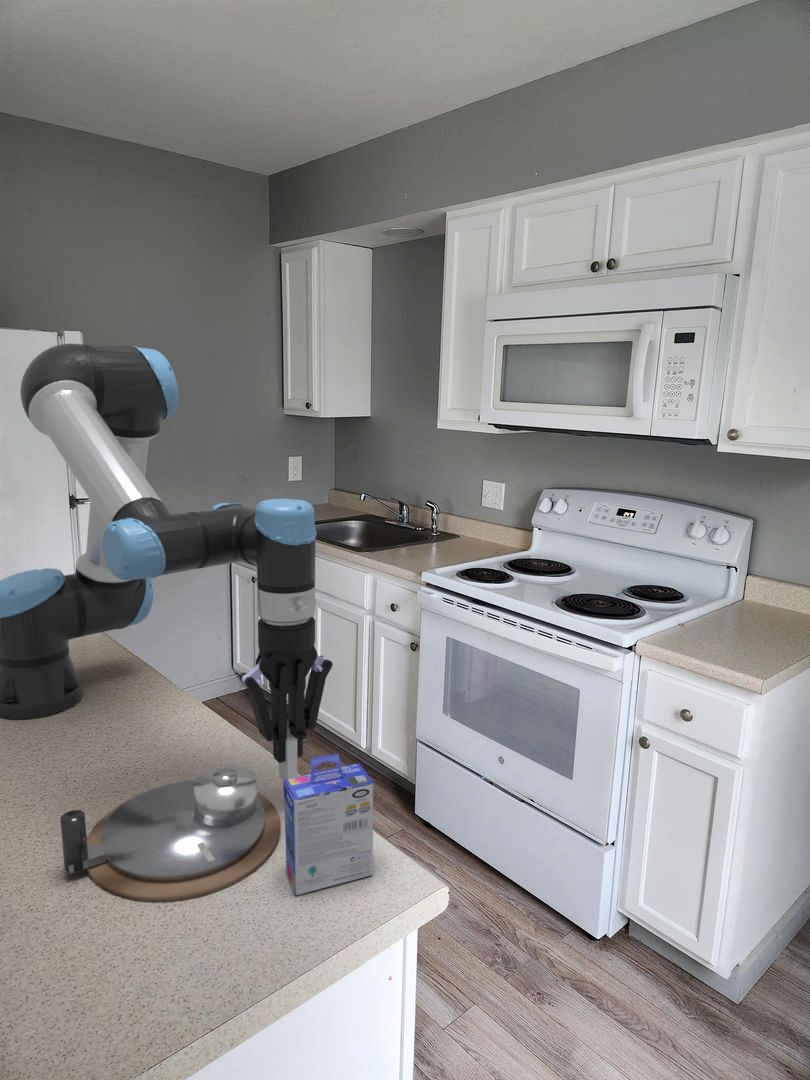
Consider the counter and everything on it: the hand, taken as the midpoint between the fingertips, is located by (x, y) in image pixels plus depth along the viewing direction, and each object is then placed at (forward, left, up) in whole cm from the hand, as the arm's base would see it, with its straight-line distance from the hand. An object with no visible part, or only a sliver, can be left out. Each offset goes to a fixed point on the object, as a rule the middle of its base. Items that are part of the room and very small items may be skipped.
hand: (288, 779), depth 101 cm
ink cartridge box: (+16, -2, -4) cm, 17 cm away
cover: (0, -9, -1) cm, 9 cm away
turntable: (0, -17, -3) cm, 17 cm away
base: (0, -14, -4) cm, 15 cm away
